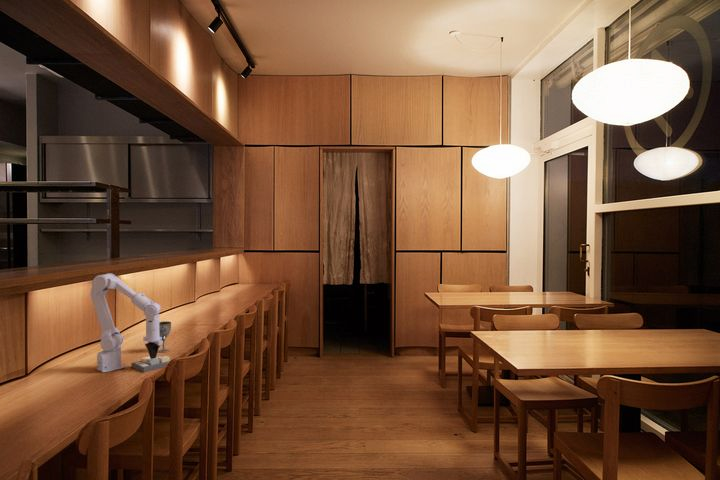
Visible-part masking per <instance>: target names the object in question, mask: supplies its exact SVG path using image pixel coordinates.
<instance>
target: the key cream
mask: <svg viewBox="0 0 720 480" xmlns="http://www.w3.org/2000/svg"><path fill="white" fill-rule="evenodd" d="M150 359H151V358H150V356H145V357H141V359H140V361H141V362H143V363H147V360H150Z"/></svg>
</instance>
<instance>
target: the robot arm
mask: <svg viewBox="0 0 720 480" xmlns="http://www.w3.org/2000/svg"><path fill="white" fill-rule="evenodd" d="M90 284H91V290H90V298H91V302H92V304H93V307H94V310H95V314H96V317H97V321H98V324H99V326H100V331H101V334H100V335H99V338H100V343H99V344H100V347H101V349H102V351H99V352H97V354H96V370H97V371H99V372H101V373H107V372H112V371H116V370H121V369H124V368H126V366H124V365H122V346H121V345H122V344H123V343H124V336H123V335H122V334H121V333H120V330H119V329H118V328H117V327H116V326H115V324H114V320H113V317H112V313H111V311H110V308H109V304H108V301H107V298H106V294H107V293H108V292H109V290H117V291H118V292H120V293H122V294H123V295H124V296H126V297H128V298H129V299H130V300H131V301H130V302H131V304H133V305H134V306H135V307H136V308H138V309H140V310H141V311H143V314H144V316H145V336H143V341H144V342H146V343H145V344H144V346H145V347H146V349H147V352H148V354H149V356H150V358H151V359H154V358H156V357H158V355H157V354H158V353H157V352H158V350H160V349H159V348H160V346H163V341H162V340H161V339H162V337H160V334H159V322H160V312H161V311H162V307H161V305H160V304H159V302H154V300H151V299H149V298H148V297H147V296H146V294H145V293H144V292H143V293H141V292H135V290H133V289H132V288H131V287H130V286H128V285H127V284H126V283H125V282H123V280H122V279H120V277H119V276H116V275H115V274H114V273H112V272H111V273H110V272H107V273H105V274H98V275H96V276H95V277H94V278H93V280H91V283H90ZM149 356H148V357H149Z"/></svg>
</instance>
